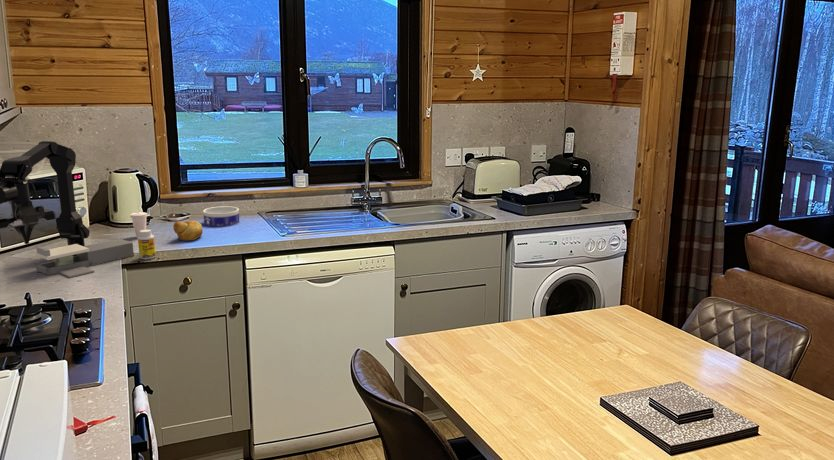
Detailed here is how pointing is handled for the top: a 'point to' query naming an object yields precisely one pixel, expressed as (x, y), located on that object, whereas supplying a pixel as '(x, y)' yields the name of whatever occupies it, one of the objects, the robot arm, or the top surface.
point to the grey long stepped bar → (92, 256)
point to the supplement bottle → (146, 245)
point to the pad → (76, 272)
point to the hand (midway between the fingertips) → (26, 243)
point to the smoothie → (139, 221)
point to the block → (63, 260)
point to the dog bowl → (221, 216)
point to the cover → (60, 251)
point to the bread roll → (188, 230)
